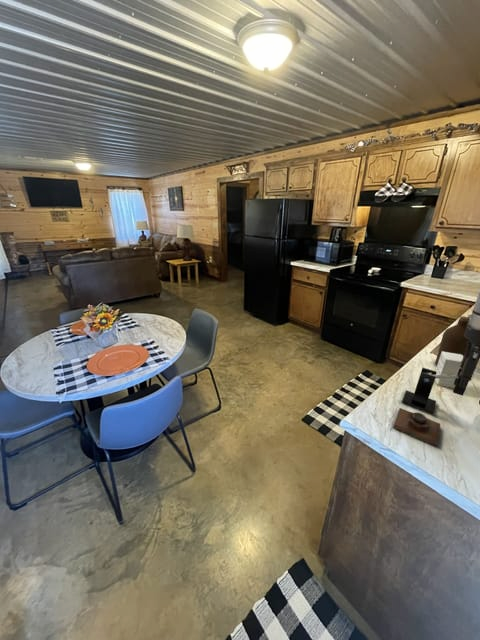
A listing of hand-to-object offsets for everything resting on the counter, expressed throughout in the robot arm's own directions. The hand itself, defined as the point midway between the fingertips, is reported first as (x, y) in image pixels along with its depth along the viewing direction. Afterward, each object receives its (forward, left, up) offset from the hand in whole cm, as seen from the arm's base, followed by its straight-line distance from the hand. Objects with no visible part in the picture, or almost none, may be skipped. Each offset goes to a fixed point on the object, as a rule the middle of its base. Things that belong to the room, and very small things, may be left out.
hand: (458, 389), depth 90 cm
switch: (+4, 0, +2) cm, 5 cm away
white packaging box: (+2, -23, -11) cm, 26 cm away
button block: (+8, +15, -11) cm, 20 cm away
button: (+8, +15, -8) cm, 19 cm away
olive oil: (+2, -39, -11) cm, 41 cm away
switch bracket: (+9, 0, -11) cm, 14 cm away
